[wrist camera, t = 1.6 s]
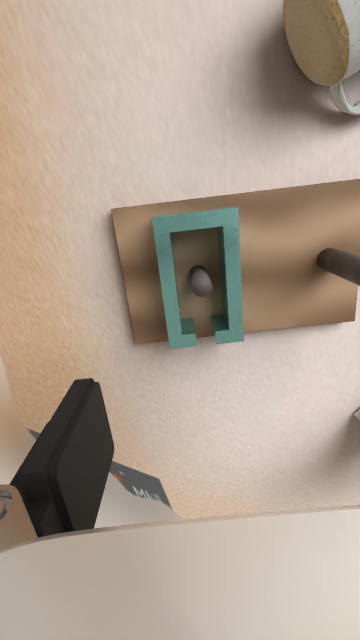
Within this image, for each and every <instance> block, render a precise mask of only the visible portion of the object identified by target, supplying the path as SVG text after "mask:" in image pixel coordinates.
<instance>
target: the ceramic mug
mask: <svg viewBox="0 0 360 640" xmlns="http://www.w3.org/2000/svg"><path fill="white" fill-rule="evenodd" d="M283 18H284V28H285V33H286V38H287V41H288V44H289V47H290V50H291V53H292V55H293V57H294V59H295V61H296V63H297V65H298V66H299V68H300V69H301V71H302V72H303V74H304V75H305V76H306V77H307V78H308V79H309V80H311V81H312V82H314V83H316V84H319V85H322V86H329V90H330V95H331V98H332V100H333V102H334V103H335V105H336V107H337V108H339V109H340V110H341V111H343V112H345V113H348V114H353V115H360V101H358V102H357V103H356V104H355V105H354V106H352V105H350V103H348V102H347V99H346V97H345V94H344V89H343V86H342V82H343V80H344V79H347V78H349V77H350V76H352V75H353V74H355V73H356V72H358V71H359V70H360V0H284V6H283Z"/></svg>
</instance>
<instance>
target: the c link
mask: <svg viewBox="0 0 360 640" xmlns="http://www.w3.org/2000/svg"><path fill="white" fill-rule="evenodd" d="M152 223H153V230H154V237H155V245H156V252H157V259H158V266H159V274H160V281H161V288H162V295H163V303H164V310H165V317H166V324H167V332H168V339H169V346H170V349H173V348H183V347H192V346H197V341H196V331H195V324H194V317H193V318H184V319H181V310H180V302H179V294H178V285H177V277H176V268H175V260H174V251H173V243H172V234H171V232H178V231H186V230H195V229H203V228H212V227H217V232H218V247H219V262H220V277H221V292H222V307H223V314H221V315H212V316H211V324H212V330H213V333H214V337H215V341H216V344H221V343H231V342H240V341H244V332H243V308H242V285H241V261H240V237H239V213H238V208H237V207H226V208H218V209H210V210H201V211H193V212H184V213H176V214H168V215H159V216H154V217H153V218H152Z"/></svg>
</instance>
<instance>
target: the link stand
mask: <svg viewBox="0 0 360 640" xmlns="http://www.w3.org/2000/svg"><path fill="white" fill-rule="evenodd" d="M226 207H237V208H238V213H239V237H240V261H241V285H242V308H243V332H244V333H245V332H255V331H264V330H274V329H283V328H293V327H302V326H312V325H321V324H331V323H340V322H350V321H355V312H356V301H357V291H358V285H359V286H360V179H355V180H347V181H338V182H330V183H322V184H314V185H305V186H297V187H289V188H280V189H272V190H264V191H256V192H247V193H239V194H231V195H223V196H214V197H206V198H198V199H189V200H181V201H173V202H165V203H156V204H148V205H140V206H131V207H123V208H115V209H111V212H112V217H113V223H114V228H115V234H116V239H117V245H118V250H119V256H120V261H121V267H122V272H123V278H124V283H125V289H126V294H127V300H128V305H129V311H130V316H131V322H132V327H133V333H134V338H135V344H141V343H150V342H160V341H169V339H168V332H167V324H166V317H165V310H164V303H163V295H162V288H161V281H160V274H159V266H158V259H157V252H156V245H155V237H154V230H153V223H152V218H153V217H154V216H159V215H168V214H176V213H184V212H193V211H201V210H210V209H218V208H226ZM171 234H172V243H173V251H174V260H175V268H176V277H177V285H178V294H179V302H180V310H181V319H184V318H193V317H194V324H195V331H196V338H198V337H207V336H214V333H213V330H212V324H211V316H212V315H221V314H223V307H222V292H221V277H220V262H219V247H218V232H217V227H212V228H203V229H195V230H186V231H178V232H171Z"/></svg>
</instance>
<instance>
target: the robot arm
mask: <svg viewBox="0 0 360 640" xmlns="http://www.w3.org/2000/svg"><path fill="white" fill-rule="evenodd" d="M113 454H114V443H113V439H112V434H111V430H110V426H109V422H108V417H107V413H106V409H105V405H104V400H103V396H102V392H101V388H100V384H99V382H94V380H93V379H92V378H89V379H79V380H75V381H74V382H73V384H72V385H71V387H70V389H69V390H68V392H67V393H66V395H65V397H64V398H63V400H62V402H61V403H60V405H59V407H58V408H57V410H56V412H55V413H54V415H53V416H52V418H51V420H50V421H49V422H48V423H47V424H46V426H45V427H44V429H43V431H42V432H41V434H40V436H39V437H38V439H37V440H36V442H35V444H34V445H33V447H32V449H31V450H30V452H29V453H28V455H27V457H26V458H25V460H24V462H23V464H22V465H21V466H20V468H19V470H18V471H17V473H16V475H15V477H14V478H13V480H12V481H11V483H10V484H9V485H0V640H360V505H354V506H342V507H330V508H317V509H305V510H293V511H281V512H269V513H257V514H245V515H233V516H222V517H210V518H199V519H188V520H177V521H165V522H154V523H143V524H133V525H123V526H113V527H104V528H96V529H94V525H95V522H96V518H97V514H98V511H99V507H100V503H101V499H102V495H103V492H104V488H105V484H106V481H107V477H108V473H109V469H110V466H111V462H112V458H113Z"/></svg>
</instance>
